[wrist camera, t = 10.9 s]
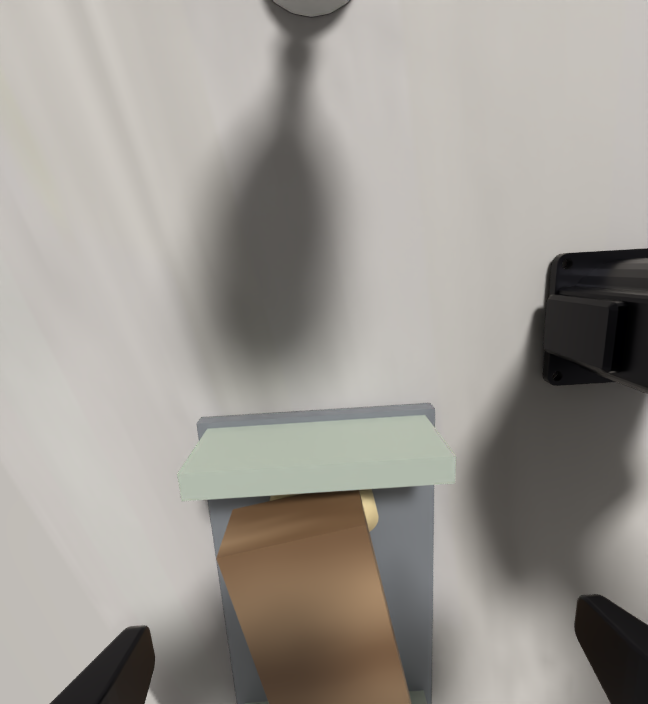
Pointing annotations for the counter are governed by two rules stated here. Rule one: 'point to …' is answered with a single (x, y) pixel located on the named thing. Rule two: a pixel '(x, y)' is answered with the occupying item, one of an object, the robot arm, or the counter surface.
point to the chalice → (311, 6)
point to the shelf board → (312, 601)
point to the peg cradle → (326, 476)
